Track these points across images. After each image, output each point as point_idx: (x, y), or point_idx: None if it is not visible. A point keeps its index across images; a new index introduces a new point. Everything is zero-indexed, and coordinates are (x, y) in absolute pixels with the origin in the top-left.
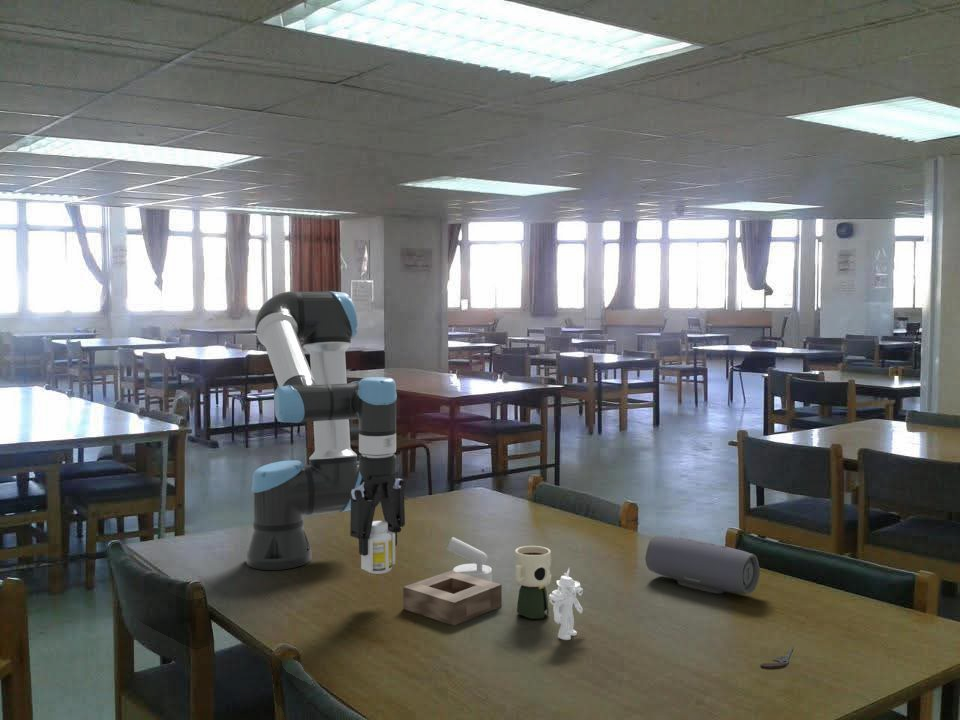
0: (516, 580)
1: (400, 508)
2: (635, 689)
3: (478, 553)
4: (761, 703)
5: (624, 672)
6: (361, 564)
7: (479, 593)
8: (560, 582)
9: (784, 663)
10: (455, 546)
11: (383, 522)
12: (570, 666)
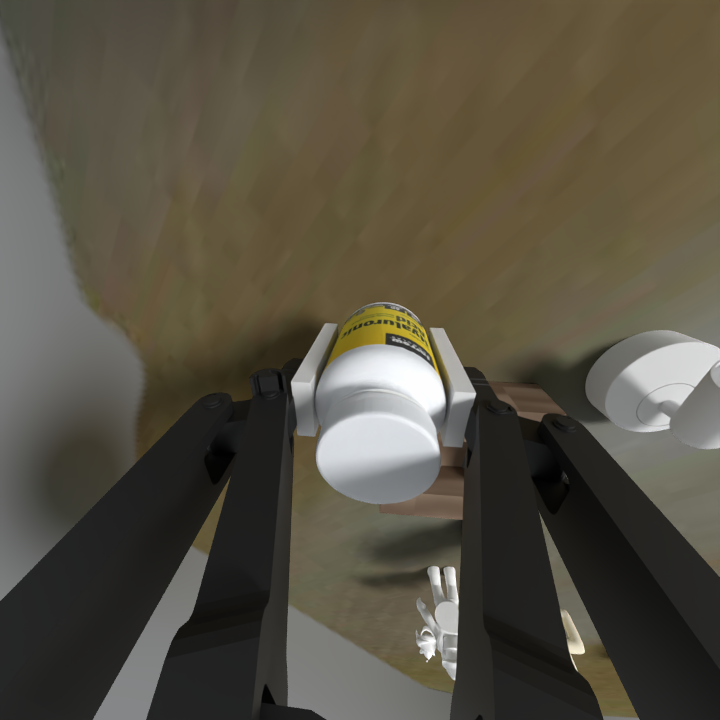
0: (458, 605)
1: (580, 592)
2: (364, 625)
3: (702, 444)
4: (401, 665)
5: (389, 616)
6: (321, 330)
7: (449, 517)
8: (448, 667)
9: None
10: (716, 405)
11: (413, 476)
12: (368, 590)
